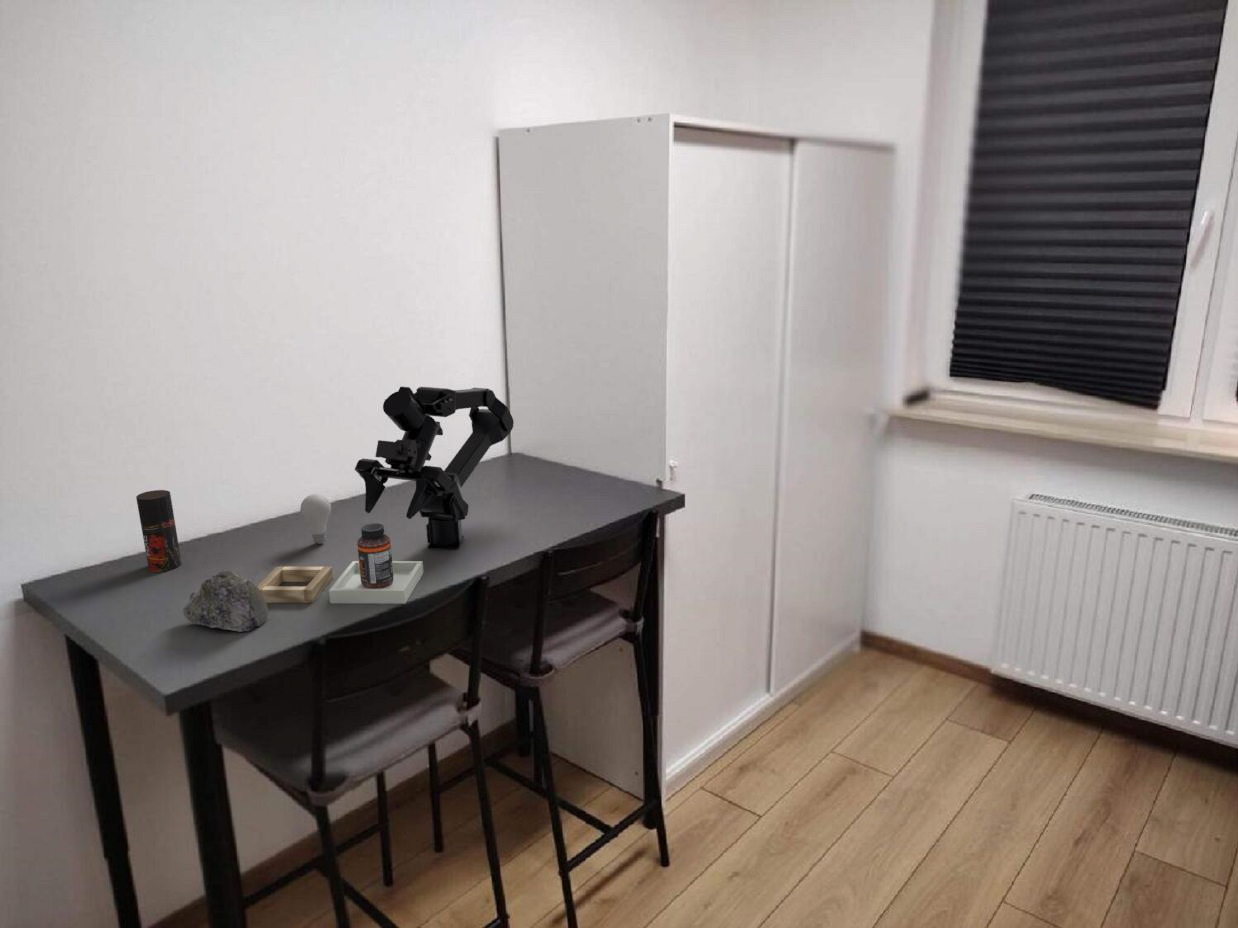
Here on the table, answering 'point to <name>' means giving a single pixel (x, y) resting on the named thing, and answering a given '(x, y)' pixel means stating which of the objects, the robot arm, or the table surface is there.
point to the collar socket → (295, 594)
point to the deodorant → (159, 530)
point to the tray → (395, 593)
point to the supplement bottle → (375, 557)
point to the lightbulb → (316, 515)
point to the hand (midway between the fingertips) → (387, 515)
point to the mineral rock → (227, 603)
